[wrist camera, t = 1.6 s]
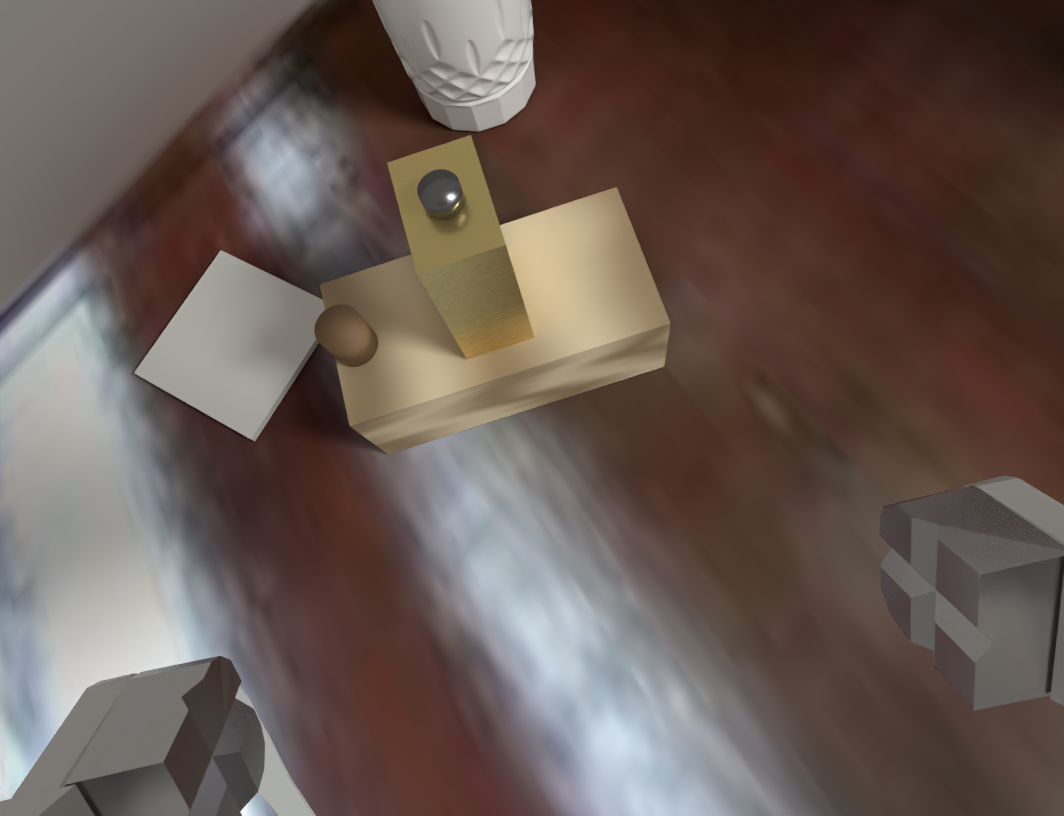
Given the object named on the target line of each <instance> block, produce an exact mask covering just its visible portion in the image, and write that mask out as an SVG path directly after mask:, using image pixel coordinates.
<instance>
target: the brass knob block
mask: <svg viewBox="0 0 1064 816" xmlns="http://www.w3.org/2000/svg"><path fill="white" fill-rule="evenodd" d="M387 164H388V167H389V171H390V175H391V179H392V183H393V186H394V190H395V194H396V198H397V201H398V205H399V209H400V213H401V216H402V220H403V224H404V228H405V231H406V235H407V239H408V243H409V246H410V250H411V254H412V258H413V262H414V265H415V269H416V273H417V275H418V277H419V279H420V280H421V282H422V284H423V285H424V287H425V289H426V290H427V292H428V294H429V296H430V297H431V299H432V301H433V302H434V304H435V306H436V307H437V309H438V311H439V313H440V314H441V316H442V318H443V319H444V321H445V323H446V325H447V326H448V328H449V330H450V331H451V333H452V335H453V336H454V338H455V340H456V342H457V343H458V345H459V347H460V348H461V350H462V352H463V354H464V355H465V357H466V359H470V358H474V357H477V356H480V355H483V354H486V353H489V352H492V351H495V350H498V349H501V348H505V347H508V346H511V345H514V344H517V343H520V342H523V341H526V340H529V339H533V338H535V337H534V334H533V330H532V327H531V324H530V321H529V317H528V314H527V311H526V308H525V305H524V301H523V298H522V295H521V292H520V289H519V285H518V282H517V279H516V276H515V272H514V269H513V266H512V263H511V260H510V256H509V253H508V250H507V247H506V244H505V240H504V237H503V234H502V231H501V228H500V225H499V222H498V219H497V215H496V212H495V209H494V206H493V203H492V200H491V197H490V194H489V191H488V187H487V184H486V181H485V178H484V175H483V172H482V169H481V166H480V162H479V159H478V156H477V153H476V150H475V147H474V144H473V141H472V137H471V135H470V136H466V137H463V138H460V139H457V140H454V141H451V142H448V143H445V144H442V145H439V146H436V147H433V148H430V149H427V150H424V151H421V152H418V153H415V154H412V155H409V156H406V157H403V158H400V159H397V160H394V161H391V162H388V163H387Z"/></svg>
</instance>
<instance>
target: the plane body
mask: <svg viewBox="0 0 1064 816" xmlns="http://www.w3.org/2000/svg"><path fill="white" fill-rule="evenodd" d="M500 228H501V231H502V234H503V237H504V240H505V244H506V247H507V250H508V253H509V256H510V260H511V263H512V266H513V269H514V272H515V276H516V279H517V282H518V285H519V289H520V292H521V295H522V298H523V301H524V305H525V308H526V311H527V314H528V317H529V321H530V324H531V327H532V330H533V334H534V337H535V338H533V339H529V340H526V341H523V342H520V343H517V344H514V345H511V346H508V347H505V348H501V349H498V350H495V351H492V352H489V353H486V354H483V355H480V356H477V357H474V358H470V359H466V357H465V355H464V354H463V352H462V350H461V348H460V347H459V345H458V343H457V342H456V340H455V338H454V336H453V335H452V333H451V331H450V330H449V328H448V326H447V325H446V323H445V321H444V319H443V318H442V316H441V314H440V313H439V311H438V309H437V307H436V306H435V304H434V302H433V301H432V299H431V297H430V296H429V294H428V292H427V290H426V289H425V287H424V285H423V284H422V282H421V280H420V279H419V277H418V275H417V273H416V269H415V265H414V262H413V258H412V254H411V255H408V256H405V257H402V258H399V259H396V260H393V261H390V262H387V263H383V264H380V265H377V266H374V267H371V268H368V269H365V270H362V271H359V272H356V273H353V274H350V275H347V276H344V277H341V278H338V279H335V280H332V281H329V282H325V283H322V284H320V288H321V293H322V298H323V302H324V307H325V310H324V311H323V312H322V313H321V314H320V316H319V317H318V319H317V321H316V323H315V328H314V332H315V337H316V339H317V341H318V342H319V343H320V344H321V345H322V346H323V347H324V348H325V349H326V350H327V351H328V352H329V353H330V354H331V355H332V356H333V357H335V359H336V364H337V369H338V373H339V378H340V383H341V388H342V392H343V397H344V402H345V407H346V411H347V416H348V421H349V426H350V427H352V428H353V429H354V430H356V431H357V432H358V433H360V434H361V435H362V436H364V437H365V438H366V439H368V440H369V441H370V442H372V443H373V444H374V445H376V446H377V447H379V448H380V449H381V450H383V451H384V452H385V453H387V454H391V453H394V452H397V451H401V450H404V449H407V448H410V447H413V446H416V445H419V444H423V443H426V442H429V441H432V440H435V439H438V438H441V437H445V436H448V435H451V434H454V433H457V432H460V431H463V430H467V429H470V428H473V427H476V426H479V425H482V424H485V423H489V422H492V421H495V420H498V419H501V418H504V417H507V416H510V415H514V414H517V413H520V412H523V411H526V410H529V409H532V408H536V407H539V406H542V405H545V404H548V403H551V402H554V401H558V400H561V399H564V398H567V397H570V396H573V395H576V394H580V393H583V392H586V391H589V390H592V389H595V388H598V387H602V386H605V385H608V384H611V383H614V382H617V381H620V380H624V379H627V378H630V377H633V376H636V375H639V374H642V373H646V372H649V371H652V370H655V369H658V368H661V367H664V364H665V357H666V350H667V343H668V336H669V330H670V321H669V318H668V316H667V313H666V311H665V308H664V306H663V303H662V301H661V298H660V296H659V293H658V291H657V288H656V286H655V283H654V280H653V278H652V275H651V273H650V270H649V268H648V265H647V263H646V260H645V258H644V255H643V253H642V250H641V248H640V245H639V243H638V240H637V237H636V235H635V232H634V230H633V227H632V225H631V222H630V220H629V217H628V215H627V212H626V210H625V207H624V205H623V202H622V199H621V197H620V194H619V192H618V189H617V187H615V188H612V189H609V190H606V191H603V192H600V193H597V194H594V195H591V196H588V197H585V198H582V199H579V200H576V201H573V202H570V203H567V204H564V205H560V206H557V207H554V208H551V209H548V210H545V211H542V212H539V213H536V214H533V215H530V216H527V217H524V218H521V219H518V220H515V221H512V222H509V223H506V224H502V225H500Z"/></svg>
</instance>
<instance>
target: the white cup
mask: <svg viewBox="0 0 1064 816" xmlns="http://www.w3.org/2000/svg"><path fill="white" fill-rule="evenodd" d="M372 1H373V3H374V5H375V8H376V10H377V12H378V14H379V16H380V19H381V21H382V23H383V25H384V28H385V30H386V32H387V34H388V35H389V37H390V39H391V41H392V43H393V46H394V48H395V50H396V52H397V54H398V56H399V58H400V59H401V62H402V64H403V66H404V68H405V70H406V72H407V74H408V76H409V77H410V78H411V79H412V81H413V83H414V86H415V88H416V90H417V92H418V95H419V97H420V99H421V101H422V102H423V104H424V106H425V107H426V109H427V110H428V112H429V114H430V115H431V117H432V118H433V119H434V120H436V121H438V122H440V123H442V124H443V125H445V126H447V127H449V128H451V129H453V130H461V131H477V132H479V131H483V130H486V129H489V128H492V127H495V126H498V125H502V124H504V123H506V122H507V121H508V120H510V119H511V118H512V117H513V116H514V115H516V114H517V113H518V112H519V111H521V110H522V109H523V108H524V107H525V106H526V104H527V102H528V100H529V98H530V96H531V94H532V91H533V89H534V87H535V85H536V83H535V66H534V55H533V39H534V31H533V18H532V5H531V0H372Z"/></svg>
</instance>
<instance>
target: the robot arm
mask: <svg viewBox="0 0 1064 816" xmlns="http://www.w3.org/2000/svg"><path fill="white" fill-rule="evenodd" d="M880 536H881V537H882V538H883V539H884V540H885V541H886V542H887V543H888V544H889V545H890V546H891V547H892V549H891V550H890V552H889V553H888V555H887V556H886V558H885V559H884V561H883V562H882V564H881V565H880V575H881V589H882V592H883V595H884V598H885V601H886V604H887V607H888V610H889V612H890V614H891V615H892V617H893V619H894V621H895V622H896V624H897V626H898V627H899V628H900V629H901V630H902V632H903V633H904V634H905V635H906V636H907V637H908V638H909V640H910V641H912V642H914V643H917V644H919V645H922V646H924V647H926V648H929V649H931V650H934V651H935V669H936V670H937V671H938V672H939V673H940V674H941V675H942V676H943V677H944V679H945V680H946V681H947V682H948V683H949V684H950V685H951V686H952V687H953V688H954V690H955V691H956V692H957V693H958V694H959V695H960V696H961V697H962V698H963V699H964V700H965V702H966V703H967V704H968V705H969V706H970V707H971V708H972V709H973V710H978V709H983V708H988V707H993V706H998V705H1003V704H1008V703H1013V702H1018V701H1023V700H1028V699H1033V698H1038V697H1042V696H1047V695H1051V696H1050V699H1051V700H1053V701H1055V702H1057V703H1059V704H1061V705H1063V706H1064V505H1062V504H1061V503H1059V502H1057V501H1056V500H1054V499H1052V498H1051V497H1049V496H1047V495H1046V494H1044V493H1042V492H1041V491H1039V490H1037V489H1036V488H1034V487H1032V486H1031V485H1029V484H1027V483H1026V482H1024V481H1022V480H1021V479H1019V478H1015V477H1010V476H1000V477H996V478H993V479H989V480H985V481H981V482H977V483H973V484H969V485H966V486H964V487H962V488H958V489H954V490H950V491H946V492H941V493H937V494H933V495H929V496H925V497H920V498H916V499H912V500H908V501H903V502H899V503H895V504H891V505H887V506H884V507H883V510H882V513H881V516H880ZM240 684H241V679H240V677H239V675H238V673H237V671H236V670H235V668H234V666H233V664H232V662H231V660H229V659H227V658H224V657H222V656H217V657H212V658H207V659H202V660H197V661H193V662H188V663H183V664H178V665H173V666H168V667H163V668H158V669H154V670H149V671H144V672H140V673H139V674H130V675H125V676H121V677H117V678H112V679H108V680H103V681H100V682H98V683H96V684H94V685H92V686H90V687H88V688H87V689H86V690H85V692H84V693H83V695H82V696H81V697H80V699H79V700H78V702H77V703H76V705H75V706H74V708H73V709H72V711H71V712H70V714H69V715H68V716H67V718H66V719H65V721H64V722H63V724H62V725H61V727H60V728H59V730H58V731H57V733H56V734H55V735H54V737H53V738H52V740H51V741H50V743H49V744H48V746H47V747H46V749H45V750H44V752H43V753H42V754H41V756H40V757H39V759H38V760H37V762H36V763H35V765H34V766H33V768H32V769H31V770H30V772H29V773H28V775H27V776H26V778H25V779H24V781H23V782H22V784H21V785H20V787H19V788H18V789H17V791H16V792H15V794H14V795H13V797H12V798H11V799H9V800H5V801H1V802H0V816H242V815H241V813H240V811H241V810H242V809H243V808H244V807H245V805H246V804H247V803H248V802H249V801H250V800H251V799H252V798H253V797H254V796H255V794H256V793H257V792H258V790H259V787H260V783H261V780H262V776H263V772H264V764H265V741H264V736H263V731H262V727H261V723H260V721H259V719H258V716H257V714H256V712H255V710H254V709H253V708H252V707H250V706H248V705H247V704H245V703H243V702H241V701H240V700H238V699H236V698H235V697H236V694H237V692H238V689H239V686H240Z"/></svg>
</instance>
